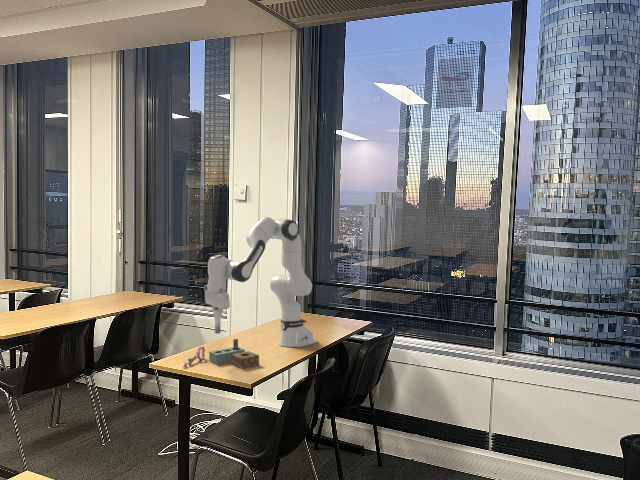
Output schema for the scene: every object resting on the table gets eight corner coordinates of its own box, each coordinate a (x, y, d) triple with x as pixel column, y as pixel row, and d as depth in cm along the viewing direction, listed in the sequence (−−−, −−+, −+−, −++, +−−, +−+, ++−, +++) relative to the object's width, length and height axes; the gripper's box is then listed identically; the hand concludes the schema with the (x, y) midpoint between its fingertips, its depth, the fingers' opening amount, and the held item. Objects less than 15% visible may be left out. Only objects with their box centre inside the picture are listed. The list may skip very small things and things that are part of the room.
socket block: (248, 360, 277) (248, 351, 276) (259, 365, 269) (259, 355, 268) (231, 364, 270) (231, 354, 270) (241, 369, 263) (241, 358, 262)
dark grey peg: (236, 357, 283) (236, 338, 282) (239, 358, 281) (238, 339, 280) (232, 358, 281) (232, 339, 281) (235, 359, 279) (234, 340, 279)
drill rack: (237, 355, 286) (237, 346, 286) (244, 359, 280) (244, 349, 279) (209, 361, 276) (209, 351, 276) (216, 364, 270) (216, 354, 270)
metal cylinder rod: (219, 331, 276) (218, 304, 275) (221, 333, 274) (221, 305, 273) (213, 332, 274) (213, 305, 273) (216, 333, 272) (215, 306, 271)
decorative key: (182, 374, 264) (203, 357, 283) (184, 374, 264) (205, 357, 282) (180, 361, 263) (202, 344, 281) (182, 361, 262) (204, 345, 281)
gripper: (232, 289, 266) (233, 317, 267) (213, 284, 282) (214, 311, 283) (221, 290, 262) (221, 319, 263) (202, 286, 279) (202, 312, 279)
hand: (217, 315), depth 273 cm, fingers closed on metal cylinder rod, 3 cm apart
